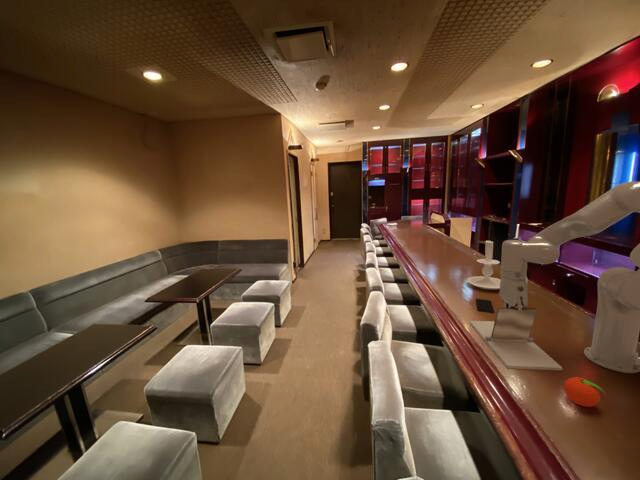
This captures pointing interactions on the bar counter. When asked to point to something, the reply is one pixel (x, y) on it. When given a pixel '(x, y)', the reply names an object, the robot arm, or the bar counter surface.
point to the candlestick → (486, 271)
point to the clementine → (582, 391)
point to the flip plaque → (513, 324)
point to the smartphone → (484, 306)
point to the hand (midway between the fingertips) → (510, 320)
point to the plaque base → (516, 350)
